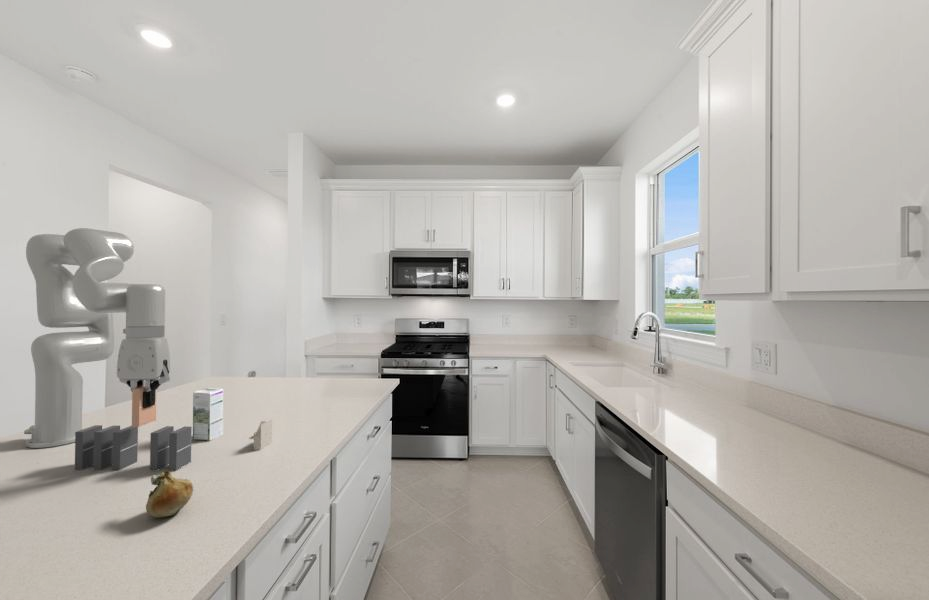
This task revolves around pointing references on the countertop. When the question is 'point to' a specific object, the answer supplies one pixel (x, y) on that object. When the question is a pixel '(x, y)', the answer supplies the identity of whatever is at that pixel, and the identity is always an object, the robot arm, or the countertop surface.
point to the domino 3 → (125, 447)
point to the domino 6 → (179, 448)
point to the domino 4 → (141, 408)
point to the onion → (168, 495)
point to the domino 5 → (160, 448)
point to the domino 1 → (85, 447)
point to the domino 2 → (104, 447)
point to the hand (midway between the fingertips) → (144, 406)
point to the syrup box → (207, 414)
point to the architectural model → (263, 435)
